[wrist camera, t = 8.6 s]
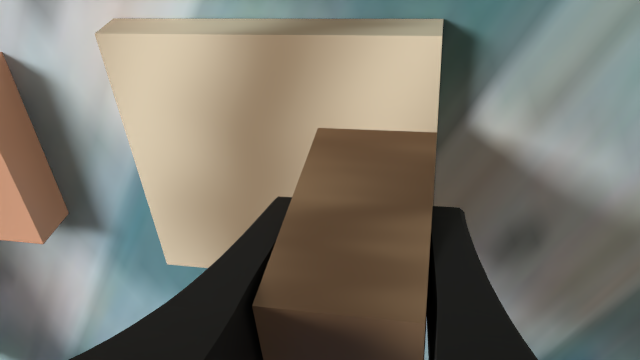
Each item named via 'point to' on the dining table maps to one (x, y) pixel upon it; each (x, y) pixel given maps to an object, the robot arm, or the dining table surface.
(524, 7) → the dining table surface
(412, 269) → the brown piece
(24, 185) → the tile
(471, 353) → the robot arm
